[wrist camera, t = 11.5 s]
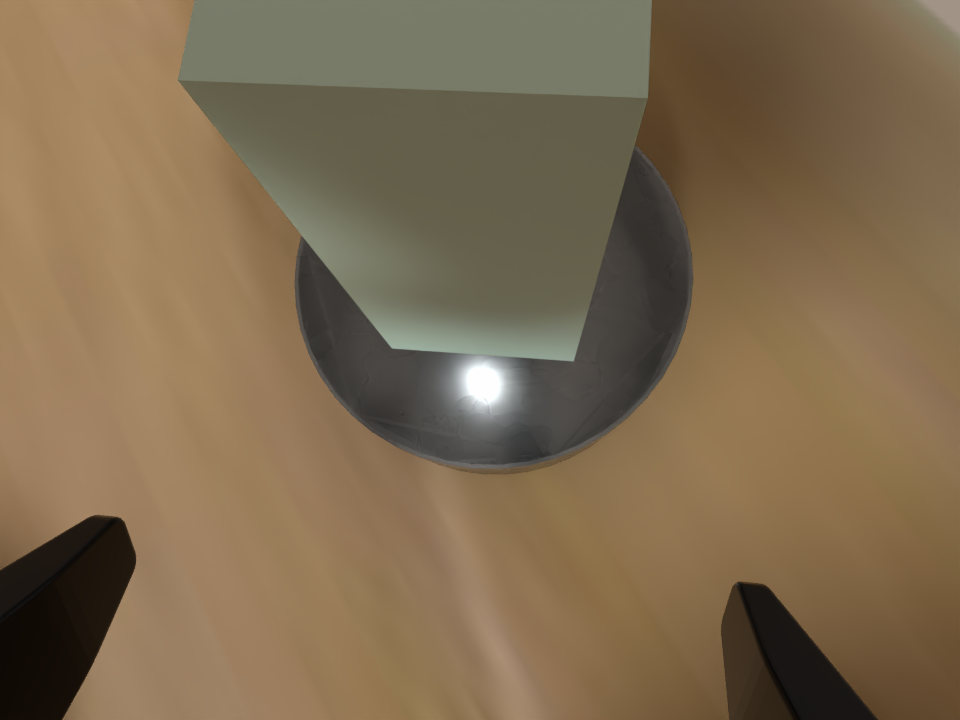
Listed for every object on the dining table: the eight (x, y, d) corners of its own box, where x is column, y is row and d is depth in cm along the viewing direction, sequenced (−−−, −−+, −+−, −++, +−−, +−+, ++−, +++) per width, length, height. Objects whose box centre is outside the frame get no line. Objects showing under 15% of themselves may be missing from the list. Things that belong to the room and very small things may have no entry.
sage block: (573, 361, 19) (648, 98, 7) (392, 348, 19) (177, 80, 7) (584, 191, 20) (662, -280, 8) (411, 183, 20) (252, -277, 9)
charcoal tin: (683, 468, 22) (717, 457, 18) (332, 487, 22) (291, 479, 18) (646, 148, 24) (669, 76, 20) (333, 172, 25) (297, 107, 21)
